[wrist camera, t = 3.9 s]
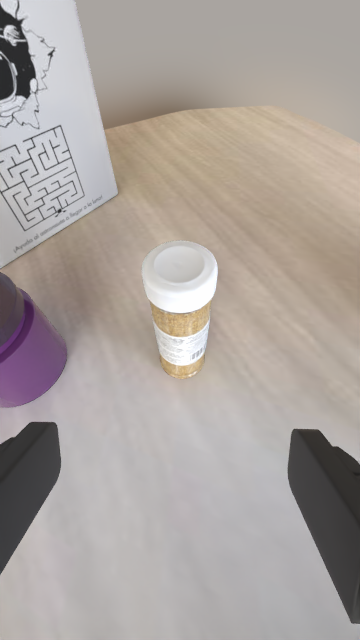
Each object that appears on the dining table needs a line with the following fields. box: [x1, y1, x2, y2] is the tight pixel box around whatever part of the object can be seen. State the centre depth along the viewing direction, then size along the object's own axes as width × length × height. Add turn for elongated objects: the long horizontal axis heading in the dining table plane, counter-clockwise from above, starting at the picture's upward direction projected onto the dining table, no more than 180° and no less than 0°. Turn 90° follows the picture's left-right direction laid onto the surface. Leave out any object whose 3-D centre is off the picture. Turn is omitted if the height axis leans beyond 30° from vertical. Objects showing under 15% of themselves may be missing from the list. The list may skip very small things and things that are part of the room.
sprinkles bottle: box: [142, 240, 218, 379], centre depth 21 cm, size 5×5×13 cm
